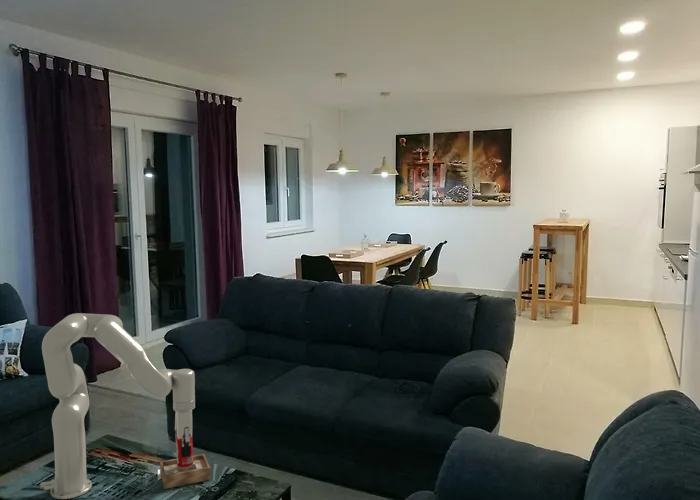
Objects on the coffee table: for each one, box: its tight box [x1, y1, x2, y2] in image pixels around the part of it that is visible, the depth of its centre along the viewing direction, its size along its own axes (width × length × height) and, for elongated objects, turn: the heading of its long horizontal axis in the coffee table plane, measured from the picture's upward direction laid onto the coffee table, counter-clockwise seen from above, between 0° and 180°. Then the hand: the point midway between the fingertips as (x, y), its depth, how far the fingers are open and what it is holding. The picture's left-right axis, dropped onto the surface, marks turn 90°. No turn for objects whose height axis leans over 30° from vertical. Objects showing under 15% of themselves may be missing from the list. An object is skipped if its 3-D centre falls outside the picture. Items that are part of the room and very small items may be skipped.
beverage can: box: [174, 429, 194, 468], centre depth 195 cm, size 6×6×15 cm
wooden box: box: [159, 453, 211, 490], centre depth 196 cm, size 16×12×4 cm
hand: (184, 452), depth 195 cm, fingers closed on beverage can, 5 cm apart
